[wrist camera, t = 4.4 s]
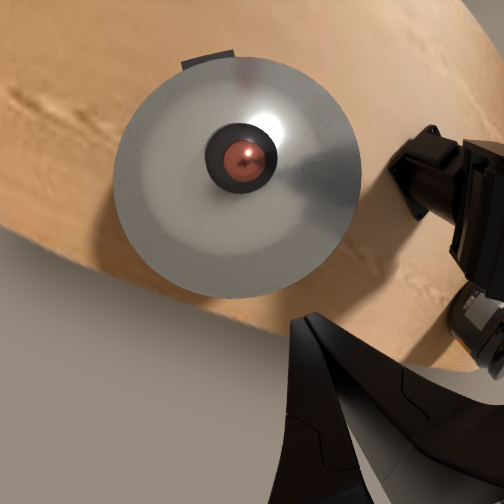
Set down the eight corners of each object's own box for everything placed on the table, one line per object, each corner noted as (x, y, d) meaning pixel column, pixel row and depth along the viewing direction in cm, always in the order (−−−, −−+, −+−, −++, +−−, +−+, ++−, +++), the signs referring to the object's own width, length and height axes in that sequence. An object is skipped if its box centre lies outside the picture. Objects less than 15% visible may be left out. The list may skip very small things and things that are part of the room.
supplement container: (455, 337, 36) (496, 387, 26) (434, 319, 32) (487, 381, 21) (495, 286, 33) (542, 330, 23) (481, 257, 29) (543, 308, 19)
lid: (89, 106, 10) (59, 105, 7) (329, 47, 11) (365, 34, 8) (167, 311, 15) (164, 352, 13) (359, 252, 16) (389, 281, 13)
